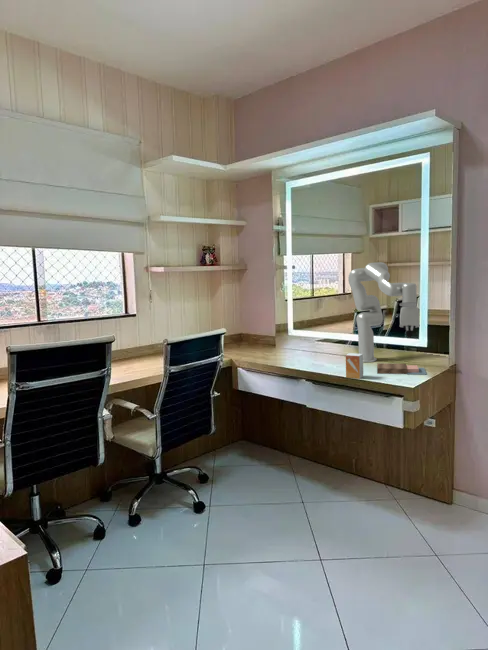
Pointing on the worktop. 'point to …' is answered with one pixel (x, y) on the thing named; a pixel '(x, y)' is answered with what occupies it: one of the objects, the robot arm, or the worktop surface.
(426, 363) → the worktop surface
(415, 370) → the tile
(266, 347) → the worktop surface
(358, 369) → the small box
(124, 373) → the worktop surface
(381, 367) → the platform
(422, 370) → the mat
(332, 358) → the worktop surface
